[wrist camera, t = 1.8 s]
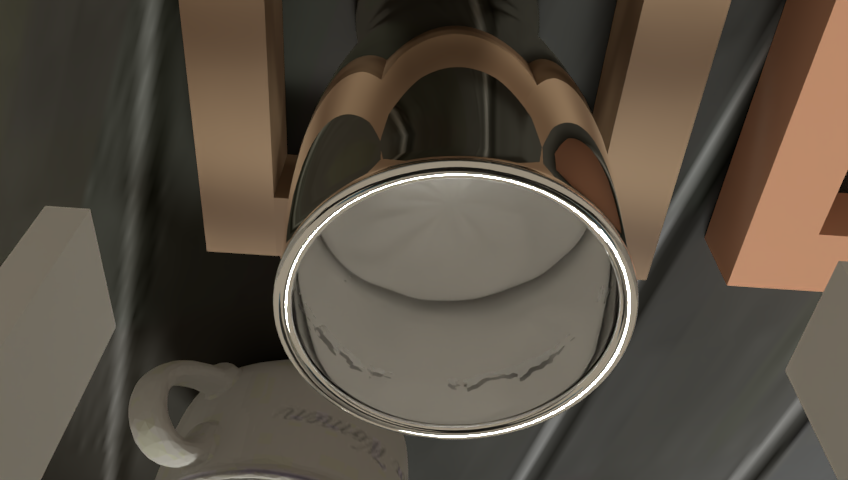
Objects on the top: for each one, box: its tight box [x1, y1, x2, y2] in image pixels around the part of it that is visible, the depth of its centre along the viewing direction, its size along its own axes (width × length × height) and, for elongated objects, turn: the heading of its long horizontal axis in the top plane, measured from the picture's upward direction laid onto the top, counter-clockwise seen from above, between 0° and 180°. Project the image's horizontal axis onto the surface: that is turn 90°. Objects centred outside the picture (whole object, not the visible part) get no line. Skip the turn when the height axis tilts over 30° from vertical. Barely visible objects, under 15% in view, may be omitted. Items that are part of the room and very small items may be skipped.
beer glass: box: [273, 0, 639, 440], centre depth 20 cm, size 7×7×15 cm
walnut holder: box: [179, 0, 731, 280], centre depth 25 cm, size 16×16×3 cm
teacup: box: [129, 360, 408, 480], centre depth 33 cm, size 14×11×8 cm
